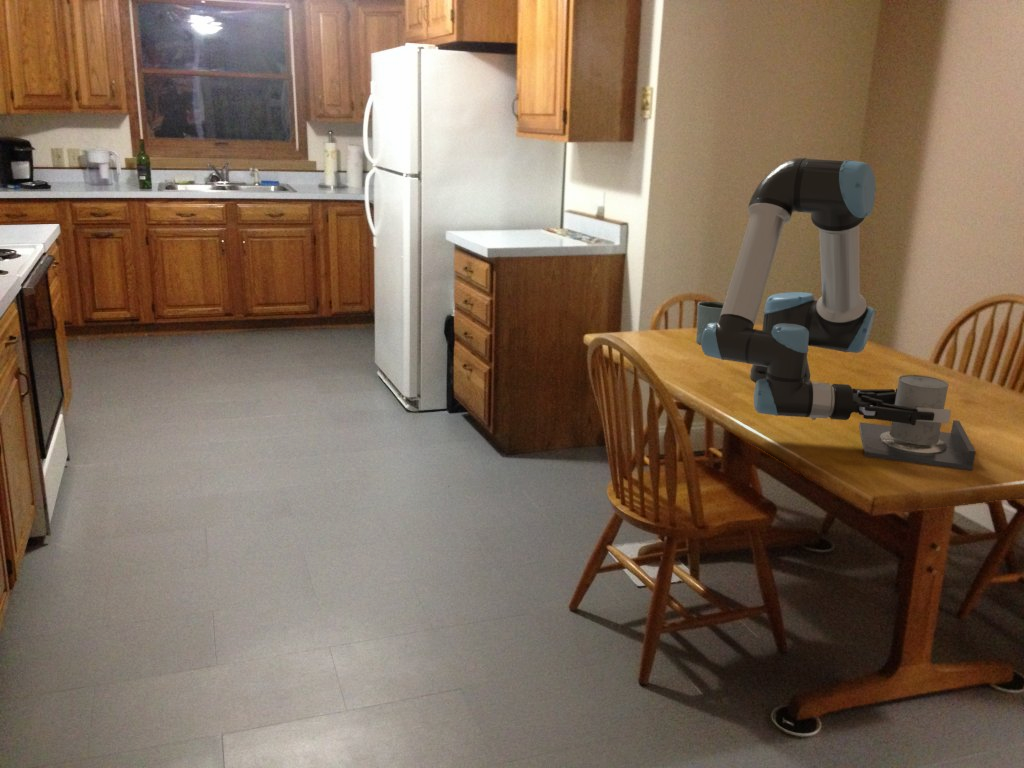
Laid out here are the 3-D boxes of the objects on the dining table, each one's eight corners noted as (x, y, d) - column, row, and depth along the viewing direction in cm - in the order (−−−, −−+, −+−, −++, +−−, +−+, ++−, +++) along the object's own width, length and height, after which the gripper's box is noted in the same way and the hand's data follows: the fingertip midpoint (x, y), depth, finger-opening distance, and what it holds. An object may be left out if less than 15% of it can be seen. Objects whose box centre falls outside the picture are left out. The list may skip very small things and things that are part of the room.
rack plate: (859, 426, 200) (861, 409, 199) (956, 438, 195) (959, 420, 193) (864, 456, 182) (867, 438, 181) (972, 470, 176) (975, 451, 175)
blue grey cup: (688, 339, 276) (691, 301, 272) (717, 338, 279) (721, 300, 275) (704, 347, 266) (708, 308, 263) (734, 346, 269) (738, 307, 266)
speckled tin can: (944, 437, 188) (954, 381, 184) (929, 448, 181) (940, 390, 178) (898, 426, 194) (907, 372, 190) (882, 436, 187) (891, 380, 184)
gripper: (817, 402, 199) (921, 409, 197) (839, 435, 178) (956, 443, 176) (821, 370, 197) (927, 376, 195) (844, 399, 176) (962, 407, 174)
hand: (940, 408), depth 185 cm, fingers closed on speckled tin can, 9 cm apart
